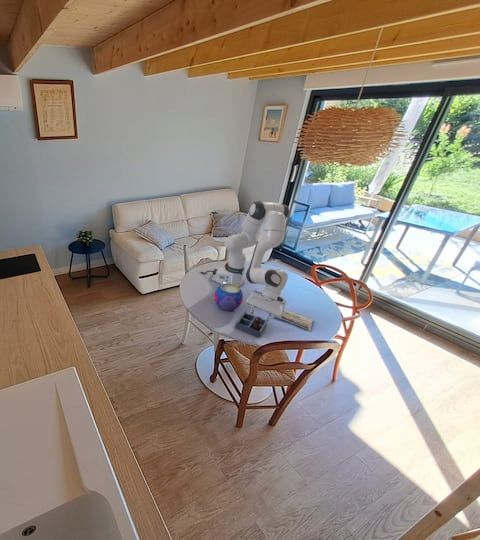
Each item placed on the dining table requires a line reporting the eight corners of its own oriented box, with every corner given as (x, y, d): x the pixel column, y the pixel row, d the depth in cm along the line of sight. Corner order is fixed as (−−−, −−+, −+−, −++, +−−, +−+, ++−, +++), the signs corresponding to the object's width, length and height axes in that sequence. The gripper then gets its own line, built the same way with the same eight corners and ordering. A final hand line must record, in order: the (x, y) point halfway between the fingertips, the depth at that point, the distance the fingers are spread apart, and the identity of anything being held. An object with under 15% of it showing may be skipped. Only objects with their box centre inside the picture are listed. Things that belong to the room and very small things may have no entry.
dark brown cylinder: (250, 330, 166) (254, 317, 161) (252, 327, 168) (256, 314, 163) (257, 333, 163) (261, 320, 158) (259, 330, 166) (263, 317, 161)
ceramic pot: (239, 301, 192) (244, 282, 185) (240, 317, 178) (245, 297, 170) (213, 296, 197) (216, 278, 190) (211, 312, 183) (215, 292, 175)
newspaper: (268, 315, 179) (269, 312, 178) (274, 308, 187) (275, 305, 186) (309, 331, 165) (310, 328, 164) (313, 323, 174) (314, 319, 173)
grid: (235, 327, 169) (236, 323, 168) (243, 316, 178) (244, 312, 177) (258, 337, 162) (260, 332, 160) (265, 325, 171) (267, 320, 169)
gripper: (251, 287, 169) (240, 307, 168) (288, 301, 156) (277, 323, 155) (252, 290, 174) (242, 310, 173) (288, 304, 161) (277, 326, 160)
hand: (259, 317), depth 164 cm, fingers open, 8 cm apart
